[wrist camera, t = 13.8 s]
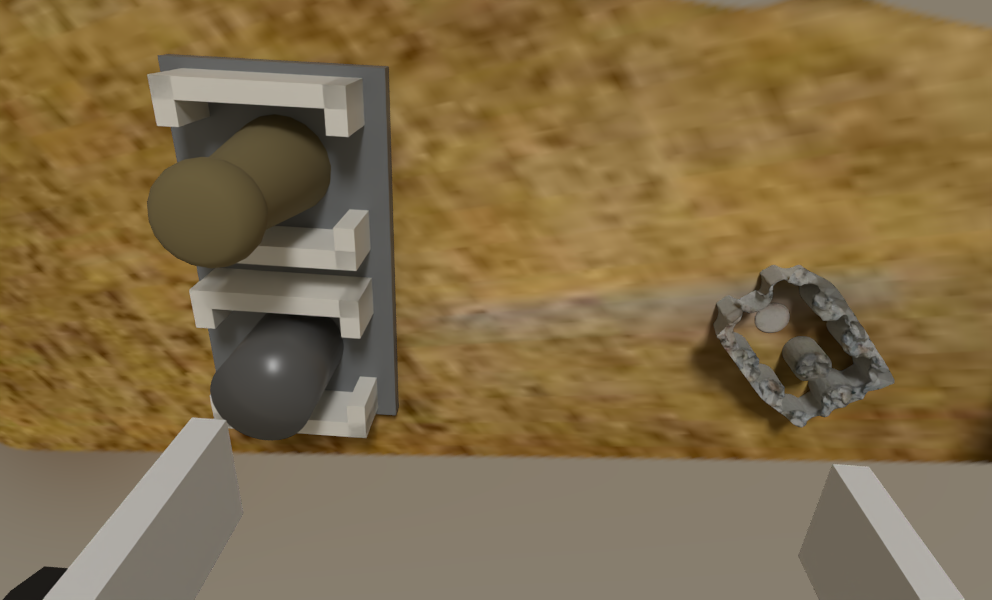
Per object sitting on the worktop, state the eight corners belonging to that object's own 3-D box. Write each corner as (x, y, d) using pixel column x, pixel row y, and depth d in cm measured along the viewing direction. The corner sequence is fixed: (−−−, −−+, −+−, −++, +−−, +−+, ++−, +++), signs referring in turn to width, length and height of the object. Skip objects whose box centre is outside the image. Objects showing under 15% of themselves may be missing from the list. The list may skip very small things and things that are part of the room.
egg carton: (695, 307, 41) (711, 337, 37) (798, 242, 39) (826, 267, 35) (774, 410, 44) (796, 447, 41) (874, 356, 42) (906, 390, 38)
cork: (260, 224, 39) (167, 301, 29) (214, 131, 36) (95, 181, 26) (347, 198, 38) (281, 268, 28) (305, 100, 35) (216, 140, 25)
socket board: (388, 66, 35) (351, 82, 28) (398, 407, 46) (373, 482, 38) (167, 54, 35) (74, 67, 28) (227, 395, 46) (171, 467, 39)
